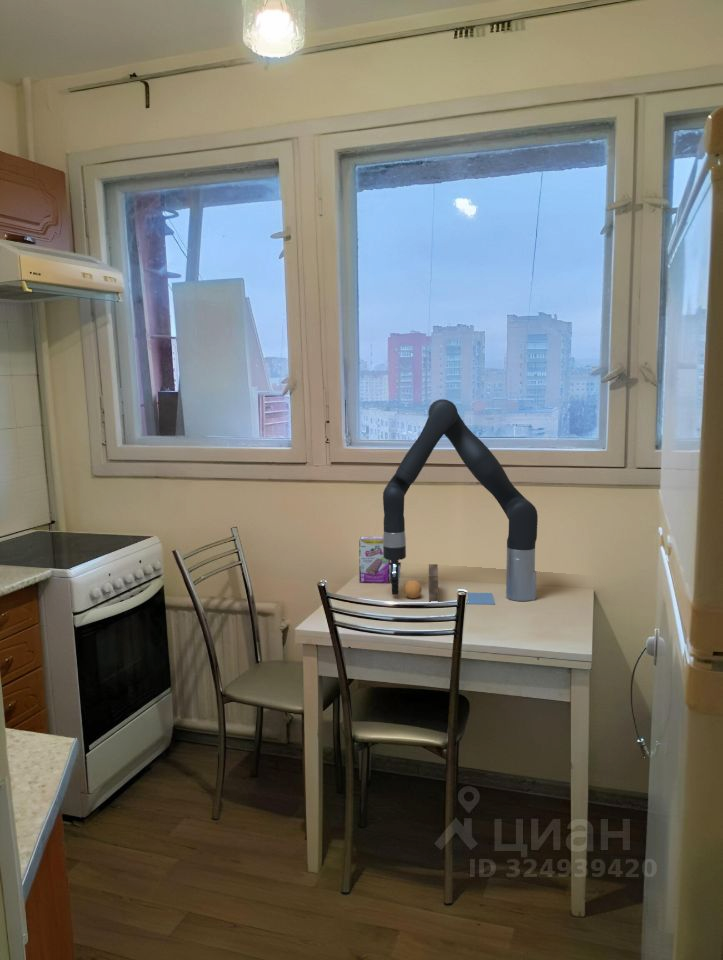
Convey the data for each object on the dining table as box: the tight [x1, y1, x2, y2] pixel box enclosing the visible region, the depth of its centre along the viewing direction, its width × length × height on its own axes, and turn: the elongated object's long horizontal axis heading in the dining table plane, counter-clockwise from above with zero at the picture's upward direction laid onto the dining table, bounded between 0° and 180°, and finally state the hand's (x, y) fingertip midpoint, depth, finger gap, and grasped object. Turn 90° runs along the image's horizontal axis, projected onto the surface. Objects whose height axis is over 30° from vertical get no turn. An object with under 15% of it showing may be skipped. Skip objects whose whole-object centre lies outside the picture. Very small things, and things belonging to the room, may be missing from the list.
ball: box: [403, 579, 423, 599], centre depth 238 cm, size 6×6×6 cm
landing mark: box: [466, 592, 496, 605], centre depth 236 cm, size 12×12×1 cm
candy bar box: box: [358, 536, 391, 584], centre depth 257 cm, size 11×5×16 cm, turn 84°
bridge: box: [428, 563, 439, 603], centre depth 237 cm, size 3×15×10 cm, turn 175°
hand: (395, 594), depth 238 cm, fingers closed
